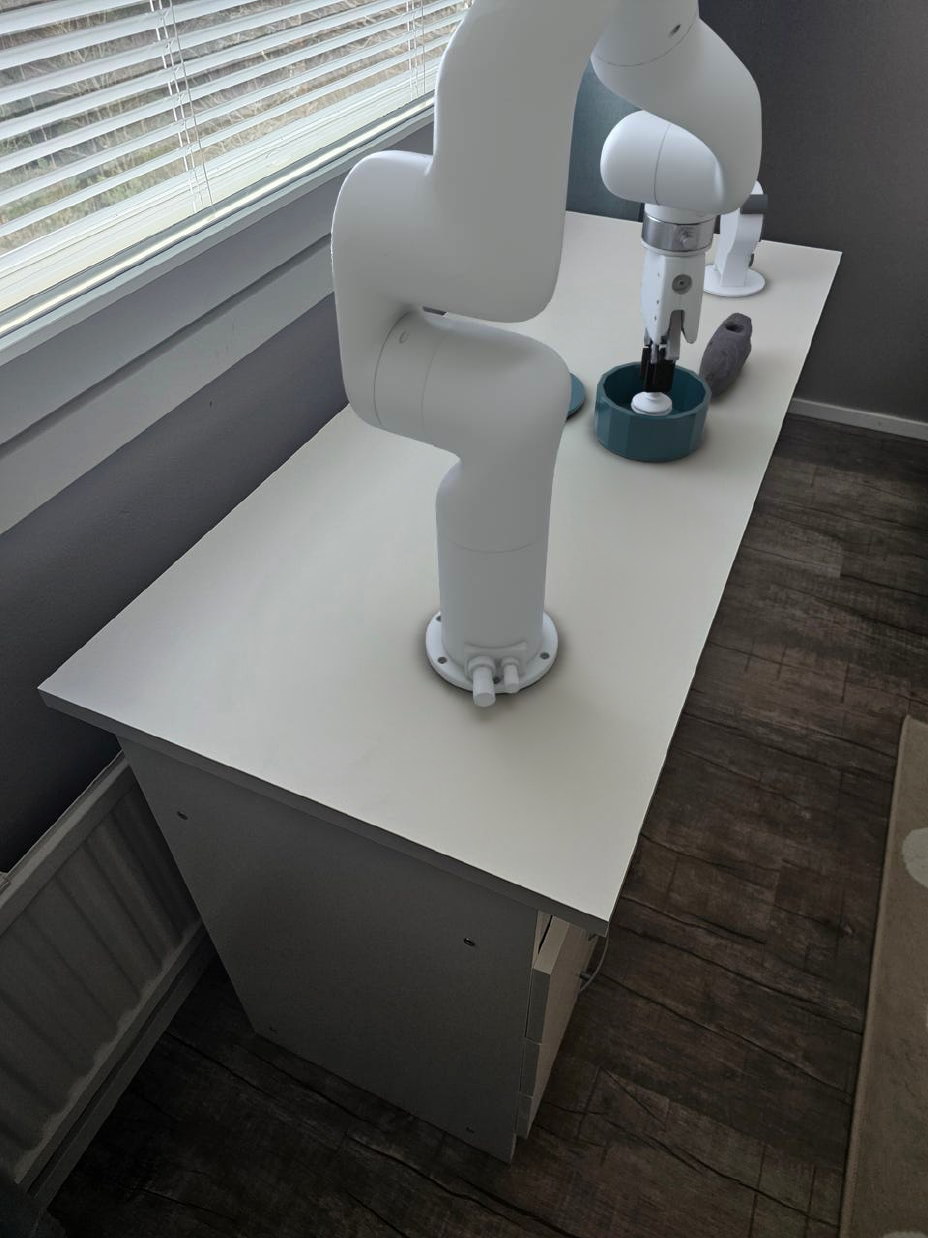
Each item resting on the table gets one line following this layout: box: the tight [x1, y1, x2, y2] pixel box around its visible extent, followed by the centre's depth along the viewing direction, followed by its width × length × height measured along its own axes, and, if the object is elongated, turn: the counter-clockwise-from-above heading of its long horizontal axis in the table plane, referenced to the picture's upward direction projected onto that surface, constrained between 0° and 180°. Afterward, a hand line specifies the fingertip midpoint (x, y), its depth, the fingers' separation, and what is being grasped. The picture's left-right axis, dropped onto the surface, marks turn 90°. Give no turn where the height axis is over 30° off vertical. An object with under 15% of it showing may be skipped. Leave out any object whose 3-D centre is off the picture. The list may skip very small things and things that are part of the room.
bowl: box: [593, 361, 712, 463], centre depth 109 cm, size 13×13×6 cm
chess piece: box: [631, 344, 672, 416], centre depth 105 cm, size 5×5×10 cm
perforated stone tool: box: [698, 312, 753, 398], centre depth 117 cm, size 15×5×7 cm, turn 150°
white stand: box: [703, 180, 769, 298], centre depth 136 cm, size 12×11×15 cm
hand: (654, 383), depth 107 cm, fingers closed on chess piece
